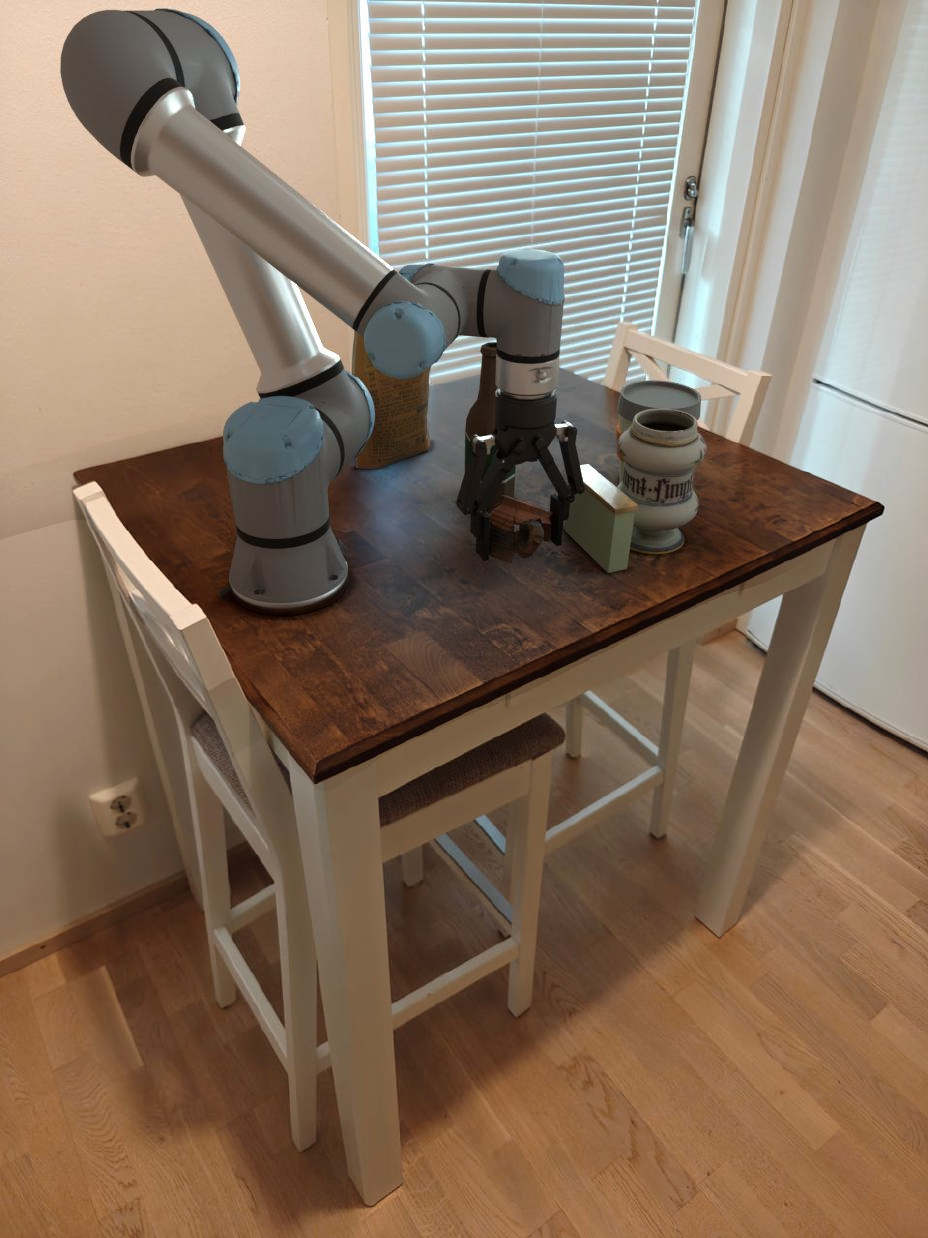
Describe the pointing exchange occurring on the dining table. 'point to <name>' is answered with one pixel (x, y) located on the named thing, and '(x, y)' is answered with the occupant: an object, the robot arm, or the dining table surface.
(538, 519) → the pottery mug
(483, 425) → the beer bottle
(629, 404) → the grey lidded canister
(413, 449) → the pancake mix bag
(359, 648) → the dining table surface
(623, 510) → the back wall
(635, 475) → the apothecary jar
